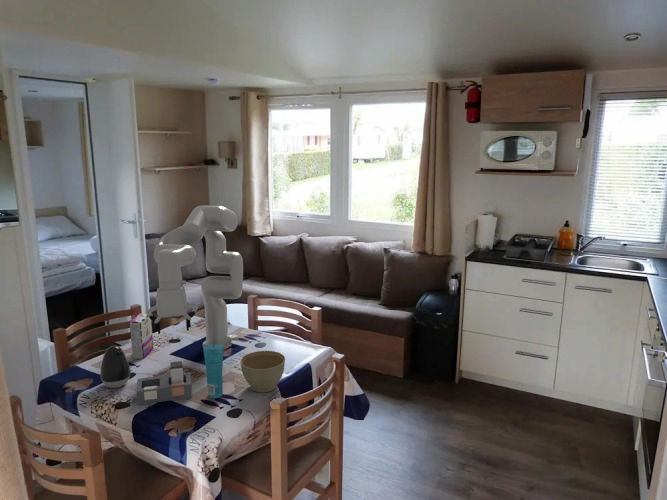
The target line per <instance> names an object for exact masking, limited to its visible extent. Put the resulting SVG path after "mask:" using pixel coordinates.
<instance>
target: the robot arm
mask: <svg viewBox="0 0 667 500" xmlns="http://www.w3.org/2000/svg"><path fill="white" fill-rule="evenodd" d="M238 222H239V220H238V216H237V214H236V212H234V211H233V210H231V209H229V208H228V207H225V206H222V205H198V206H195V207H194V208H193V209H192V211H191V213H189V216H188V217H187V218H186V220H185V222H184V223H183V225H180V226H178V227H176V228H174V229H173V230H170V231H169V232H167V233H165V234H164V235H162V237H161V238H160V240H159V241H158V242H157V244H156V246H155V247H154V250H153V259H154V261H155V263H156V264H157V278H158V288H157V289H156V304H155V305H154V306H151V307H149V308H148V309H146V311H145V313H146V314H147V315H148V317H149V318H150V319H151V322H153V323H154V324H155V332H158V335H160V334H161V323H160V322H161V321H160V320H161V319H162V318H173V317H181V316H182V317H183V316H184V317H185V323H186V324H185V327H186V331H189V330H190V328H191V325H192V324H191V320H192V318H193V317H194V316H195V314H196V313H197V310H198V309H199V307H198V305H197V304H195V303H191V302H189V301H187V294H186V289H185V286H184V285H186V284H187V280H185V279H182V267H188V266H190V265H192V264H194V261H195V260H196V257H197V255H196V254H197V253H196V250H195V247H193V246H192V245H191V244H193V243H197V242H199V241H201V240H202V239H203V238H204V239H205V268H206V271H208V272H209V273H212V274H213V273H214V274H229V275H230V276H222V275H221V276H220V275H217V276H216V275H210V276H206V277H205V278H203V279H202V282H201V285H200V287H201V292H202V293H201V294H202V297H203V303H204V318H205V319H204V322H205V323H204V324H205V340H204V341H203V342H202V345H203V344H210V345H224V350H226V349H228V348H230V347H232V345H233V341H239V340H240V337H239V335H236V334H229V328H228V325H229V324H228V307H227V304H226V301H225V300H226V299H227V300H236V299H240V298H241V297H242V294H243V289H244V288H243V285H244V284H243V283H244V259H243V257H242V255H241V253H240V252H237V251H227V239H226V237H225V235H224V233H223V232H226V233H227V232H228V233H229V232H234V231H235V230H236V229H237V227H238V225H239V224H238ZM188 308H190V309H192V310H191V311H190V312H188ZM155 311H156V316H155V315H153V312H155Z"/></svg>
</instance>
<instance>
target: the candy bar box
mask: <svg viewBox="0 0 667 500" xmlns="http://www.w3.org/2000/svg"><path fill="white" fill-rule="evenodd" d="M128 323H129V332H130V340H131V341H130V343H131V351H132V352H131V353H132V359H133V360H143V359H145V358H146V357H147V356H148V355H149V354H150V353H151V352H152V351H153V350H154V347H155V346H154V339H153V325H152V320H151V319H150V318H149V317H148V315H147V314H146V312H141V313H138V315H136V316H135V317H133V319H131V320H130V321H129V322H128Z"/></svg>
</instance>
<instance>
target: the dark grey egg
mask: <svg viewBox="0 0 667 500" xmlns="http://www.w3.org/2000/svg"><path fill="white" fill-rule="evenodd" d="M130 376H131V367H130V364H129V360H128V358H127V356H126V353H125V352H124V350H123V349H122V348H121V347H120V346H118V345H112V346H109V347H108V348H107V349H106V350H105V351H104V354H103V357H102V360H101V365H100V380H101V382H102V384H103V385H104V386H105V387H107V388H109V389H117V388H120V387H121V388H122V387H123V386H125V385H126V384H127V383H128V381H129V380H130Z"/></svg>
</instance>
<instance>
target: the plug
mask: <svg viewBox="0 0 667 500" xmlns="http://www.w3.org/2000/svg"><path fill="white" fill-rule="evenodd" d="M169 365H170V375H171V382H172V384H173V383H181V382H183V373H184V369H183V368H184V367H183V360H180V361H173V362H171V361H170V363H169Z"/></svg>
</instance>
